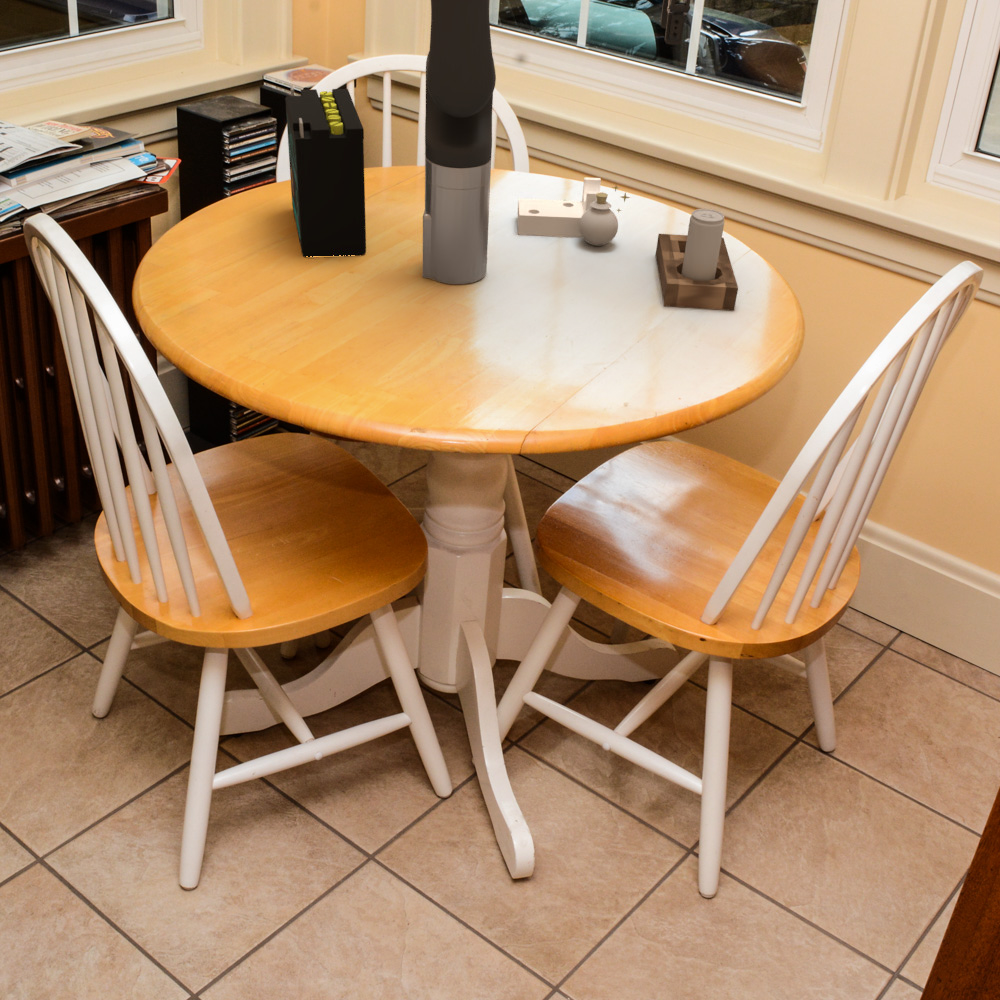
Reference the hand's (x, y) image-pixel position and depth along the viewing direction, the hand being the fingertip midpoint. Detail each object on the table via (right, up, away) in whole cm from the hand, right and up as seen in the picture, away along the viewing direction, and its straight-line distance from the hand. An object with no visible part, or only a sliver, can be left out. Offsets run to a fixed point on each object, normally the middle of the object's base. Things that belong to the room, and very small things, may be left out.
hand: (670, 35), depth 153 cm
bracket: (-14, -20, +29) cm, 38 cm away
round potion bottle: (-7, -23, +24) cm, 34 cm away
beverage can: (+5, -33, +11) cm, 36 cm away
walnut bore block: (+6, -31, +15) cm, 34 cm away
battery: (-50, -21, +23) cm, 59 cm away
